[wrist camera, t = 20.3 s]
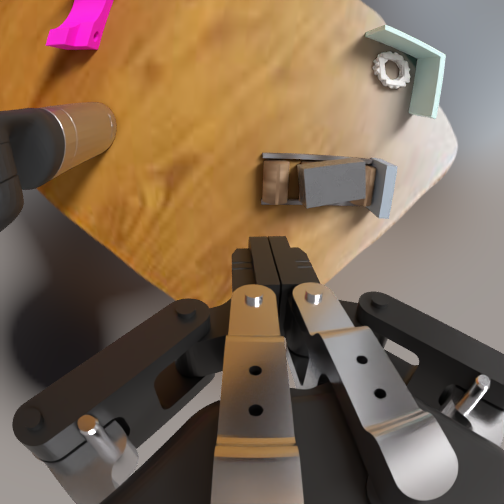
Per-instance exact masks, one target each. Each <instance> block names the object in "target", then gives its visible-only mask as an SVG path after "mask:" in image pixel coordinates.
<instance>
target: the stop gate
mask: <svg viewBox="0 0 504 504" xmlns="http://www.w3.org/2000/svg"><path fill="white" fill-rule="evenodd" d="M371 159H372V160H373V164H370V166H373V167H375V168H376V175H375V183H374V190H373V196H372V203H371V205H370V206H365V207H367V208H368V209H369V210H370V211H371V212H372V213H373V214H375V215H376V216H377V217H378V218H388V219H389V215H390V209H391V204H392V198H393V192H394V186H395V180H396V173H397V166H395V165H393V164H391V163H389V162H387V161H384V160H382V159H378V158H371Z"/></svg>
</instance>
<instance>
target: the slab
mask: <svg viewBox="0 0 504 504" xmlns="http://www.w3.org/2000/svg"><path fill="white" fill-rule="evenodd" d="M297 169H298V180H299V192H300V202H301V203H302V204H303V205H304V206H305V207H306V208H312V207H318V206H323V205H329V204H335V203H341V202H347V201H353V200H359V199H365V198H366V170H365V161H363V160H361V159H359V158H356V157H355V158H346V159H337V160H329V161H321V162H313V163H305V164H298V165H297Z"/></svg>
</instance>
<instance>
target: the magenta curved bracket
mask: <svg viewBox="0 0 504 504" xmlns="http://www.w3.org/2000/svg"><path fill="white" fill-rule="evenodd" d="M112 3H113V0H75V1H74V4H73V7H72V10H71V12H70V14H69V16H68V17H67V19H66V20H65V21H64V23H63V24H62V25H61V26H59V27H58V28H56V29H50V32H49V35H48V39H47V43H46V46H52V47H56V48H61V49H66V50H98V47H99V44H100V40H101V37H102V33H103V30H104V27H105V24H106V21H107V17H108V14H109V12H110V9H111V6H112Z"/></svg>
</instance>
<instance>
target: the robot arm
mask: <svg viewBox="0 0 504 504" xmlns="http://www.w3.org/2000/svg"><path fill="white" fill-rule="evenodd" d="M116 126H117V125H116V119H115V117H114V114H113V113H112V111H111V110H110V109H109V108H108V107H107V106H106V105H104V104H102V103H98V102H87V103H75V104H65V105H57V106H49V107H42V108H25V109H19V110H9V111H0V232H1V231H2V230H3V229H4V228H6V227H7V226H8V225H9V224H10V223H12V221H13V220H14V219H15V218H16V217H17V216H18V215H19V213H20V212H21V210H22V208H23V203H24V201H23V193H22V189H23V190H30V189H35V188H37V187H39V186H41V185H43V184H45V183H46V182H48V181H50V180H51V179H53V178H55V177H57V176H58V175H60V174H62V173H64V172H66V171H67V170H69V169H71V168H73V167H75V166H77V165H79V164H81V163H83V162H85V161H87V160H89V159H91V158H93V157H95V156H97V155H99V154H101V153H103V152H104V151H106V150H107V149H108V148H109V147H110V145H111V144H112V142H113V140H114V138H115V134H116ZM232 292H233V294H232V297H231V299H230V300H229V301H227V302H226V303H224V304H223V305H220V306H217V307H213V308H209V307H208V306H207V305H206V304H205V303H204V302H202V301H200V300H197V299H181V300H177V301H175V302H173V303H171V304H169V305H168V306H166V307H165V308H163V309H162V310H160V311H159V312H158V313H156V314H155V315H153V316H152V317H150V318H149V319H147V320H146V321H144V322H143V323H141V324H140V325H139V326H137V327H136V328H134V329H132V330H131V331H130V332H128V333H127V334H125V335H124V336H122V337H121V338H119V339H118V340H116V341H115V342H113V343H112V344H110V345H109V346H108V347H106V348H105V349H103V350H102V351H100V352H99V353H97V354H96V355H94V356H93V357H91V358H90V359H88V360H87V361H85V362H84V363H83V364H81V365H80V366H78V367H77V368H75V369H74V370H72V371H71V372H69V373H68V374H66V375H65V376H63V377H62V378H61V379H59V380H58V381H56V382H55V383H53V384H52V385H50V386H49V387H47V388H46V389H45V390H43V391H42V392H40V393H39V394H37V395H36V396H34V397H33V398H31V399H30V400H28V401H27V402H26V403H24V404H23V405H21V407H19V409H18V410H17V411H16V413H15V415H14V418H13V431H14V434H15V436H16V437H17V439H18V440H19V441H20V442H21V443H22V444H23V445H24V446H26V447H27V448H28V449H29V450H30V451H31V452H32V454H33V455H34V456H35V457H36V458H37V459H38V460H40V461H41V462H42V463H43V464H44V465H45V466H47V467H48V468H49V469H50V471H51V472H52V474H53V475H54V476H55V478H56V479H57V480H58V482H59V483H60V484H61V486H62V487H63V488H64V490H65V491H66V492H67V493H68V495H69V496H70V497H71V498H72V500H73V501H74V502H75V503H76V504H504V450H503V449H502V448H501V444H502V441H503V438H504V354H502V353H500V352H499V351H497V350H495V349H493V348H491V347H489V346H487V345H485V344H483V343H481V342H479V341H478V340H476V339H473V338H472V337H470V336H468V335H466V334H464V333H462V332H460V331H458V330H456V329H454V328H452V327H450V326H448V325H446V324H444V323H442V322H440V321H438V320H437V319H435V318H433V317H431V316H429V315H427V314H425V313H422V312H421V311H419V310H417V309H415V308H413V307H411V306H409V305H407V304H404V303H403V302H401V301H399V300H397V299H394V298H392V297H390V296H389V295H386V294H384V293H380V292H367V293H364V294H363V295H361V297H360V298H359V302H358V303H354V302H347V301H341V300H338V299H337V297H336V296H335V294H334V293H333V291H332V290H331V289H330V288H328V287H327V286H325V285H322V284H320V282H319V280H318V278H317V275H316V273H315V271H314V269H313V267H312V265H311V263H310V262H309V259H308V256H307V254H306V253H305V252H303V251H302V250H301V249H299V248H290V246H289V243H288V241H287V238H286V236H268V237H249V248H248V249H236V250H235V252H234V253H233V254H232ZM284 337H285V338H286V349H285V342H284ZM387 339H390V340H392V341H393V342H395V343H397V344H399V345H401V346H403V347H404V348H406V349H408V350H410V351H412V352H413V353H415V354H416V355H417V356H418V358H419V365H411V364H409V363H408V362H406V361H404V360H402V359H400V358H399V357H397V356H395V355H393V354H392V353H390V352H388V351H386V350H384V346H385V344H386V341H387ZM286 358H287V360H286ZM287 361H288V364H289V367H290V370H291V373H292V376H293V379H294V382H295V386H296V389H295V388H290V387H289V378H288V369H287ZM220 371H223V375H222V385H221V397H220V400H219V401H216V402H214V403H212V404H209V405H207V406H206V407H204V408H202V409H201V410H199V411H198V412H197V413H195V414H194V415H193V416H192V417H191V418H190V419H188V421H187V422H186V423H185V424H184V425H183V426H182V427H181V428H180V429H179V430H178V431H177V432H176V433H175V434H174V435H173V436H172V437H171V438H170V439H169V440H168V441H167V442H166V443H165V444H164V445H163V446H162V447H161V448H160V449H159V450H158V451H156V452H155V453H154V454H153V455H152V456H151V457H150V458H149V459H148V460H147V461H146V462H145V463H144V464H143V465H142V466H141V467H140V468H139V469H138V470H136V471H135V473H133V474H132V475H131V476H130V474H131V473H132V472H133V471H134V470H135V468H136V467H137V464H138V452H137V450H136V449H137V448H138V447H139V446H140V445H141V444H142V443H144V442H145V441H146V440H147V439H148V438H149V437H151V436H152V435H153V434H154V433H155V432H156V431H157V430H159V429H160V428H161V427H162V426H163V425H164V424H165V423H166V422H167V421H169V420H170V419H171V418H172V417H173V416H174V415H175V414H176V413H177V412H179V411H180V410H181V409H182V408H183V407H184V406H185V405H186V404H187V403H188V402H189V401H190V400H191V399H193V398H194V397H195V396H196V395H197V394H198V393H199V392H200V391H201V390H202V389H203V388H204V387H205V386H206V385H207V384H208V383H210V381H211V380H212V379H213V378H214V376H215V373H217V372H220ZM129 476H130V477H129Z"/></svg>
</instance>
